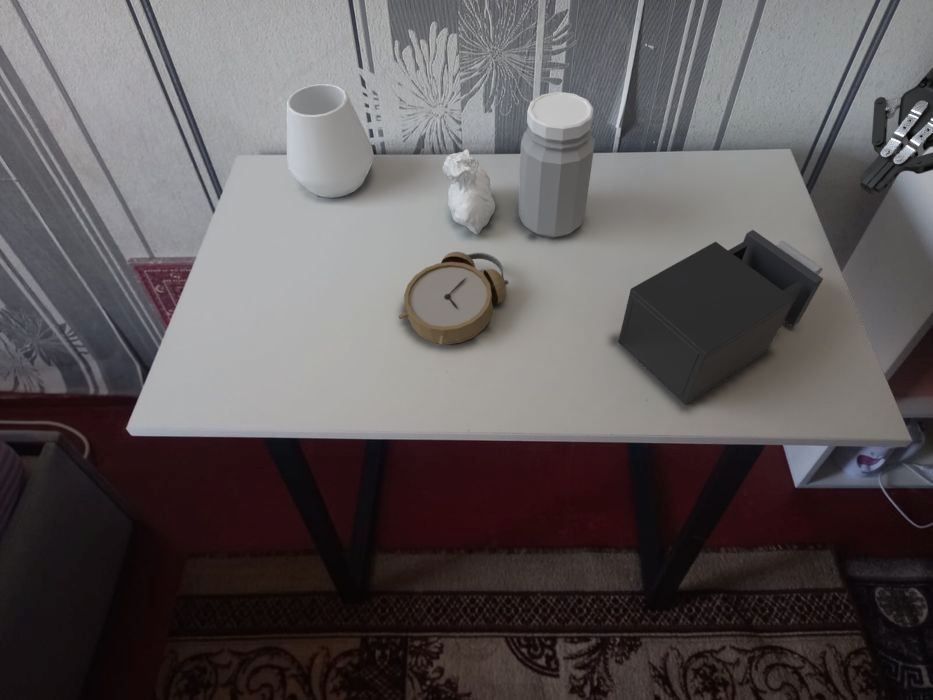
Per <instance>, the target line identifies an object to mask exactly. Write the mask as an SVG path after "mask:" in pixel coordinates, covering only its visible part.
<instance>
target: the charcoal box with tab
mask: <svg viewBox="0 0 933 700" xmlns="http://www.w3.org/2000/svg"><path fill="white" fill-rule="evenodd" d="M728 250H729V249H727V248H725V247H724V246H723V245H721V244H720V243H719V242H717V241H714V242H712V243H710V244H709V245H707V246H704V247H703V248H701V249H699V250H697V251H696V252H694V253H693V254H692V253H691V255H689V256H687V257H685V258H683V259H681V260H679V261H678V262H676V263H674V264H673V265H671V266H669V267H667V268H665V269H663V270H662V271H660V272H657V273H656V274H654V275H653V276H651V277H649V278H647V279H645V280H644V281H642V282H640V283H638V284H636V285H634V286H633V287H631V288H630V290H629V295H628V299H627V303H626V308H625V312H624V316H623V321H622V325H621V328H620V332H619V337H618V343H619V344H620V345H621V346H622V347H624V348H625V349H626V350H627V351H628V352H629V354H631V355H632V356H633V357H634V358H635V359H636V360H637V361H638V362H639V363H641V365H643V366H644V368H646V369H647V370H648V371H649V372H650V373H651V374H652V375H653V376H654V377H655V378H656V379H657V380H659V381H660V382H661V383H662V384H663V385H664V386H665V387H666V388H667V389H668V390H669V391H670V393H672V394H673V395H674V396H675V397H676V398H677V399H679V400H680V401H681V402H682V403H683V404H684V405H685V406H686V405H688V404H690V403H691V402H692V401H694V400H695V399H697V398H699V397H700V396H702V395H703V394H705V393H706V392H708V391H710V390H711V389H713V388H714V387H715V386H717V385H718V384H720V383H721V382H723V381H724V380H726V379H728V378H729V377H731V376H732V375H733V374H736V372H738V371H740V370H741V369H743V368H744V367H746V366H748V365H749V364H750V363H752V362H754V361H755V360H756V359H758V358H760V357H761V356H763V355H764V354H766V353H767V351H768V349H769V348H770V346H771V344H772V342H773V340H774V338H775V336H776V334H777V332H778V330H780V329H779V328H781V327H780V325H781V323H782V321H783V319H784V317H785V315H786V313H787V312H788V310H789V308H790V306H791V304H792V302H793V300H794V299H793V298H792V297H790V296H789V295H788V294H786V293H785V292H784V291H782V290H781V289H779V288H778V287H777V286H775V285H774V284H773V283H771V282H770V281H769V280H767V279H766V278H765V277H763V276H762V275H760V274H759V273H758V272H756V271H755V270H754V269H752V268H751V267H750V266H748V265H747V264H746V263H744V262H743V261H741V260H740V259H739V258H737V257H736V256H735V255H733V254H732V253H731V252H729V251H728Z"/></svg>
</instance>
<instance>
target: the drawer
mask: <svg viewBox="0 0 933 700" xmlns="http://www.w3.org/2000/svg"><path fill="white" fill-rule="evenodd" d="M727 250H728V251H729V252H731V253H732V254H733V255H735V256H736V257H737V258H739V259H740V260H741V261H743V262H744V263H746V264H747V265H748V266H750V267H751V268H752V269H754V270H755V271H756V272H758V273H759V274H760V275H762V276H763V277H765V278H766V279H767V280H769V281H770V282H771V283H773V284H774V285H775V286H777V287H778V288H779V289H781V290H782V291H784V292H785V293H786V294H788V295H789V296H790V297H792V298H793V299H794V300H793V302H792V304H791V306H790V308H789V310H788V312H787V313H786V315H785V317H784V319H783V321H782V323H781V325H780V327H779V328H781V327H782V326H783V325H784V322H786V323H787V324H788V325H790V326H791V327H794V326H796V325H797V324H798V323H800V321H801V319H802V317H803V316H804V314H805V313H806V311H807V309H808V306H809V305H810V303H811V302H812V299H813V298H814V296H815V294H816V292H817V290H818V289H819V287H820V286H821V283H822V282H823V280H824V278H823V277H822V276H820V274H821V273H822V271H823V267H822V266H821V265H820V264H819V263H816V262H815V261H814V260H812V259H811V258H809V257H808V256H806V255H805V254H803V253H801V252H800V251H799V250H797V249H796V248H794V247H793V246H792V245H790V244H789V243H787V242H786V241H784V240H780V241H779V242H777V244H774V243H773V242H771V241H770V240H769V239H767V238H766V237H764V236H763V235H761V234H760V233H758V232H757V231H755V230H754V229H752V230H750V231H748V232H746V234H745V236H744V239H743V241H742V242H740V243H739V244H737V245H735V246H733V247H731V248H730V249H727Z"/></svg>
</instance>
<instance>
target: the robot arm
mask: <svg viewBox="0 0 933 700" xmlns="http://www.w3.org/2000/svg"><path fill="white" fill-rule="evenodd" d="M897 111H898V119H897V120H898V121H897V128H896V130H894V132H893V133H892V136H891V138H890V139H889V140H888V141H887V135H888V122H889V121H888V120H890V119H892V118H893V117H895V115H896V112H897ZM872 116H873V117H872V119H873V120H872V132H871V144H872V146H873V149H874V152H876V153H877V154H878V155H877V157H876V158H875V160H874V161H872V163H871V164H870V165H869V166H868V168H866V170H865V171H863V173H862V174H861V176H860V178H859V180H860V183H859V186H860V188H861V190H863V191H865V192H866V193H868V194H869V195H872V196H873V195H875V194H876V193H878V194H880V193H883V192H885V190H886V189H887V188H888V187H889V186H890V185H891V183H893V181H894V180H896V179H897V177H898V176H899V175H900V174H901V173H903V172H911V173H914V174H917V175H920V174H924V173H927V172H931V171H933V151H932V152H928V153H926V152H927V151H928V150H930V148H933V67H931V69H930V70H929V71H928V72H927V73H926V74H925V75H924V76H923V77H922V78H921V80H920V81H919V82H918V83H917V85H916V86H914V87H913V88H911V89H908V90H907V91H905V92H904V93H903V94H902V95H901V97H894V98H889V99H886V97H884V96H880V97H877V98H876V99H875V100H874V103H873V115H872Z"/></svg>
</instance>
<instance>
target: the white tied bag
mask: <svg viewBox="0 0 933 700" xmlns="http://www.w3.org/2000/svg"><path fill="white" fill-rule="evenodd" d="M441 168H442V169H441V170H442V172H443V173H444V175H446V176H447V177H448V178H449V179H450V181H451V182H452V183H451V184H450V185H449V186H448V190H447V198H448V199H447V205H448V208H449V210H450V213H451V218H452V219H453V221H454V222H455V223H457V224H458V225H461V226H463V227H466V228H467V229H468V230H469V231H470V232H472V233H473V234H474V235H479V234H480V233H481V231H482V230H483V228H485V227H486V226H488V224H489V221H490V219H491V218H492V216H493V214H494V213H495V209H496V204H495V200H494V197H493V195H492V188H491V179H490V176H489V175H488V173H487V171H486V170H485V168H483V166H482V165H480V163H479V160H478V159H476V158H475V157H474V156H471V154H470V150H469V149H467V148H466V149H464V150H463V151H458V152H454V153H451V154H448V155H447V156H446V158H445V160H444V162H443V166H442V167H441Z"/></svg>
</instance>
